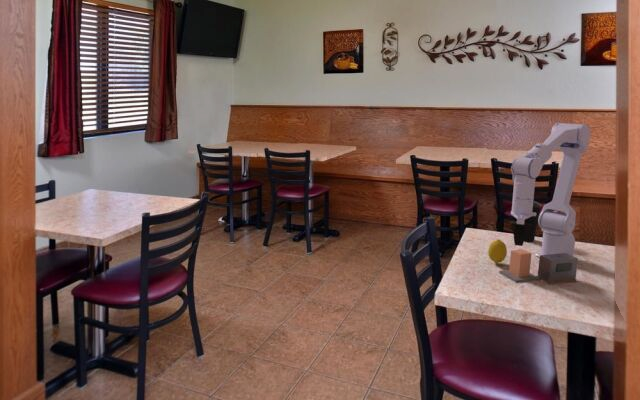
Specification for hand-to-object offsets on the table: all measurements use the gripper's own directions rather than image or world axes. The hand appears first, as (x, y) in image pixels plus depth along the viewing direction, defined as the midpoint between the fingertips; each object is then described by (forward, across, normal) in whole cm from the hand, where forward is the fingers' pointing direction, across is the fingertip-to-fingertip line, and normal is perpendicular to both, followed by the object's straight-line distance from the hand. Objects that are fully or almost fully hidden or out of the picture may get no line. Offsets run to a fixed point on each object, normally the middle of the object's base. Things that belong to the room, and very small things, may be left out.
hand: (519, 241), depth 154 cm
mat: (+10, -4, -1) cm, 10 cm away
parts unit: (+10, -2, -11) cm, 15 cm away
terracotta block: (+9, -4, -1) cm, 10 cm away
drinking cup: (+10, +37, -2) cm, 38 cm away
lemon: (+10, +5, +6) cm, 13 cm away
